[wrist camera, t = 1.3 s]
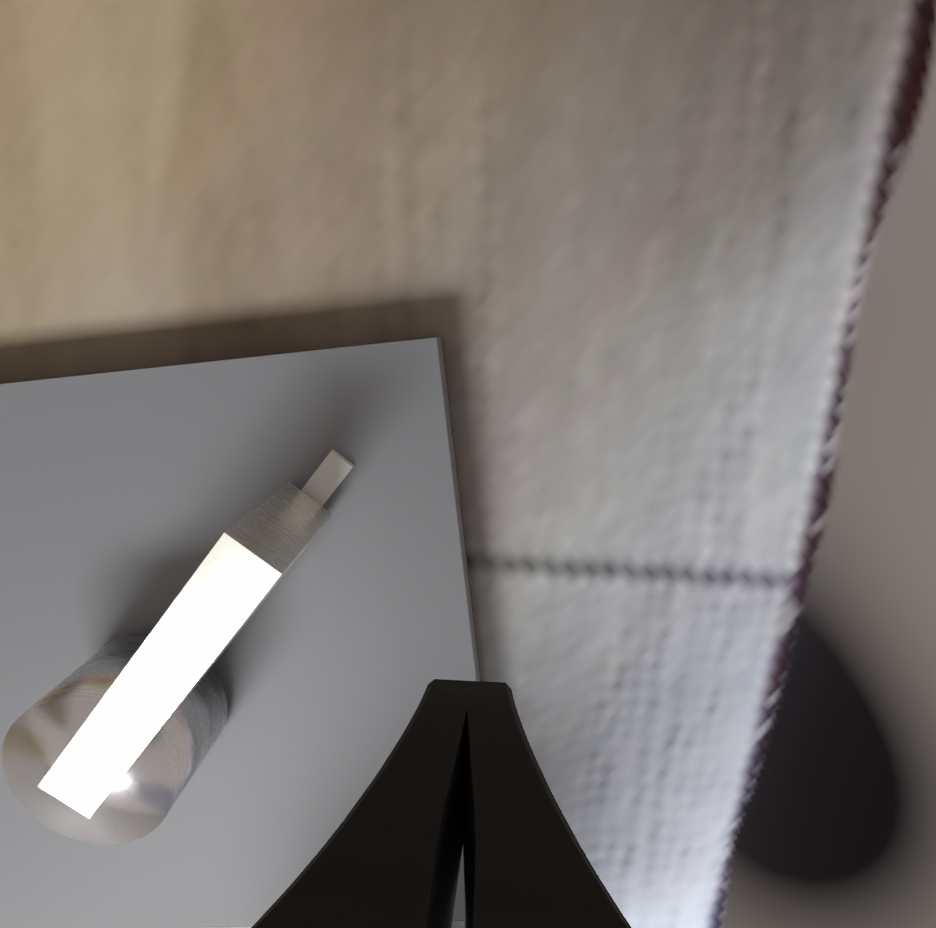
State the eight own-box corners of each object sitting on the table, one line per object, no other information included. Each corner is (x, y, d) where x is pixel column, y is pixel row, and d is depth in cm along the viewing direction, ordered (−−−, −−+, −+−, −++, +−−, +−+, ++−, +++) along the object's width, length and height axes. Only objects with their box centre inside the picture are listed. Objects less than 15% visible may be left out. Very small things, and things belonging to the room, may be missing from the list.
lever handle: (180, 783, 19) (99, 902, 15) (58, 705, 19) (-58, 808, 15) (377, 546, 17) (340, 616, 13) (243, 446, 16) (160, 486, 12)
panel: (503, 880, 22) (504, 925, 21) (7, 897, 24) (-29, 939, 22) (441, 336, 17) (435, 337, 15) (-198, 404, 18) (-266, 412, 17)
